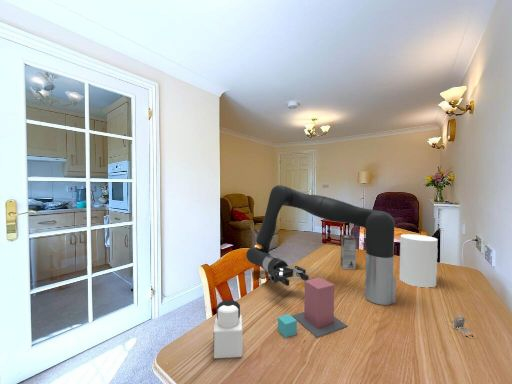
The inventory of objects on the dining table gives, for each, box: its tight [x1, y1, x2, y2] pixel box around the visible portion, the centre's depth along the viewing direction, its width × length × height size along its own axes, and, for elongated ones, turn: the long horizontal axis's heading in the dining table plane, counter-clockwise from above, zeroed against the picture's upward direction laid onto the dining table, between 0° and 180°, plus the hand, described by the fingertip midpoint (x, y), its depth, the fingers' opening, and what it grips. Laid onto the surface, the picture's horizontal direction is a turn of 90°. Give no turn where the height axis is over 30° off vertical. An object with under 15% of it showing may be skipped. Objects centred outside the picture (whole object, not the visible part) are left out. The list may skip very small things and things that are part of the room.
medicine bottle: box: [213, 299, 243, 359], centre depth 61 cm, size 7×7×12 cm
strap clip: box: [453, 315, 474, 334], centre depth 70 cm, size 8×3×4 cm, turn 5°
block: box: [277, 313, 298, 339], centre depth 68 cm, size 4×4×4 cm
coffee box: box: [340, 234, 357, 271], centre depth 123 cm, size 9×6×16 cm
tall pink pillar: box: [303, 277, 335, 328], centre depth 73 cm, size 6×6×12 cm
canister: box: [399, 233, 439, 289], centre depth 104 cm, size 14×14×20 cm
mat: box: [291, 311, 348, 339], centre depth 74 cm, size 12×12×1 cm
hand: (298, 281), depth 83 cm, fingers open, 8 cm apart
